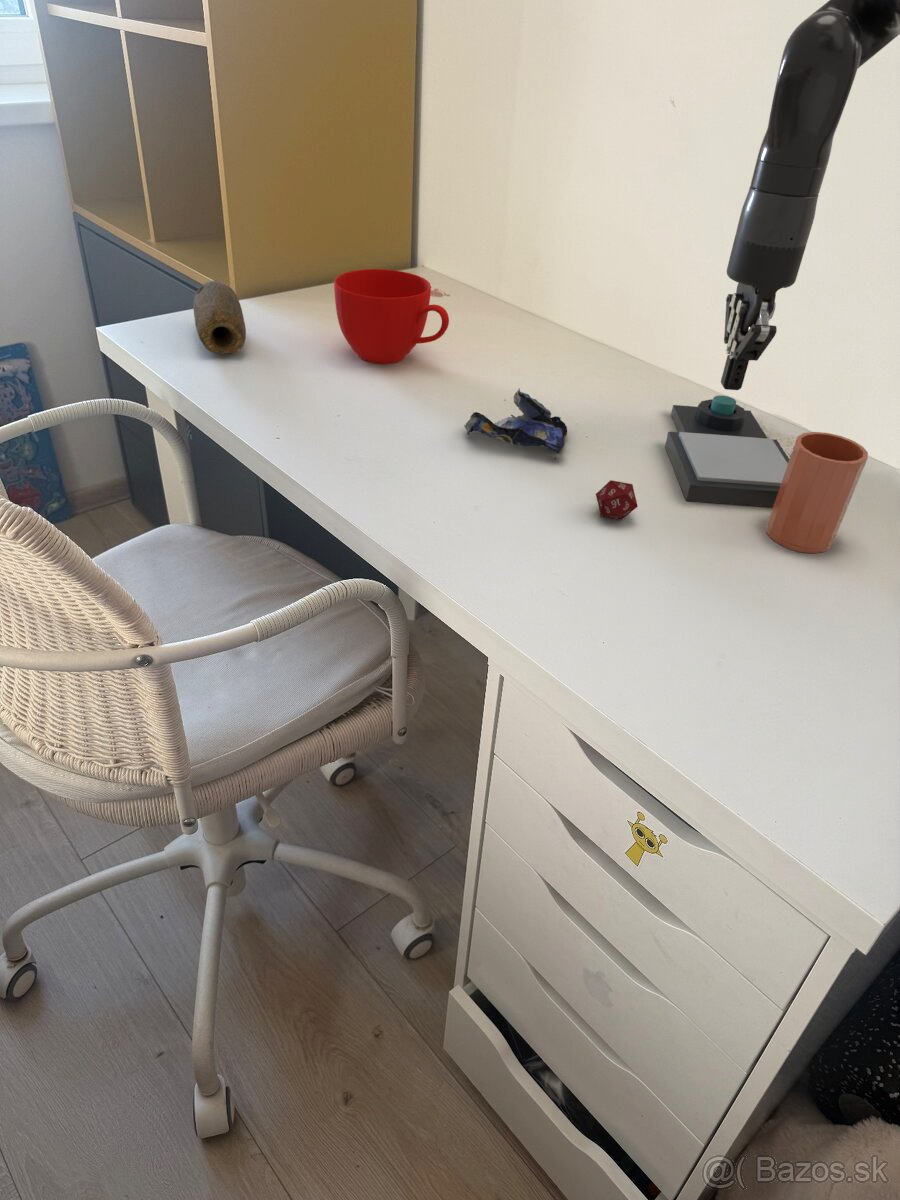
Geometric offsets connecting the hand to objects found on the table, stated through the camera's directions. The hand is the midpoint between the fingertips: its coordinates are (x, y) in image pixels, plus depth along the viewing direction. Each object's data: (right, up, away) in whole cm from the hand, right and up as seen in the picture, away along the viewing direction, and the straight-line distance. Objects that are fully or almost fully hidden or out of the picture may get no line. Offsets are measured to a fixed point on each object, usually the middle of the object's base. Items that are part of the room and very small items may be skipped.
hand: (730, 387), depth 100 cm
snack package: (-26, -7, -2) cm, 27 cm away
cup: (+2, -19, -15) cm, 25 cm away
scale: (-2, -12, -6) cm, 13 cm away
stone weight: (-66, +11, +17) cm, 69 cm away
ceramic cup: (-42, +8, +16) cm, 46 cm away
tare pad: (-1, -5, +4) cm, 6 cm away
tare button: (0, -3, +2) cm, 3 cm away
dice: (-17, -17, -15) cm, 29 cm away
